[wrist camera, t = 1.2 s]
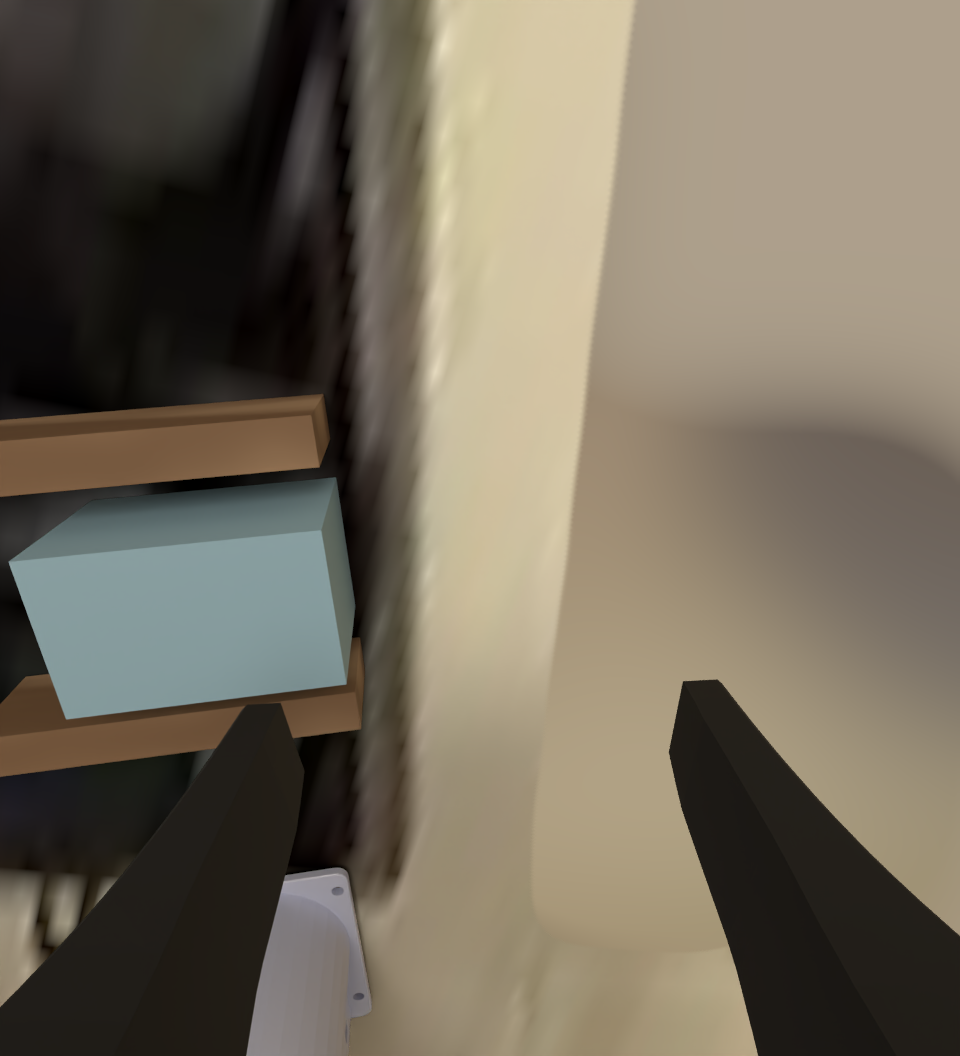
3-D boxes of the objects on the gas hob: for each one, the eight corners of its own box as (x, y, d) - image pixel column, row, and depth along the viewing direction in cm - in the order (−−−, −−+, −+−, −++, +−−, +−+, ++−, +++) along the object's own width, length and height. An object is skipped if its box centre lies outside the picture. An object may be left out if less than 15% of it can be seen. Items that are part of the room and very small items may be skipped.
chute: (364, 670, 25) (361, 729, 22) (38, 710, 24) (-17, 778, 21) (323, 394, 21) (311, 415, 18) (-70, 426, 20) (-161, 454, 17)
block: (355, 605, 24) (346, 684, 19) (131, 631, 23) (66, 719, 18) (335, 477, 22) (321, 530, 17) (91, 500, 21) (8, 561, 17)
